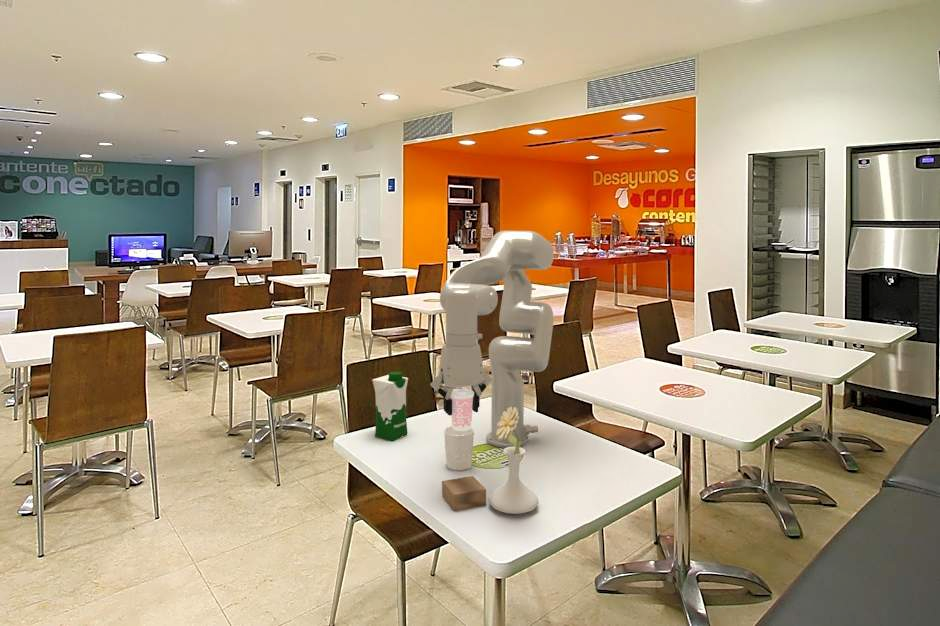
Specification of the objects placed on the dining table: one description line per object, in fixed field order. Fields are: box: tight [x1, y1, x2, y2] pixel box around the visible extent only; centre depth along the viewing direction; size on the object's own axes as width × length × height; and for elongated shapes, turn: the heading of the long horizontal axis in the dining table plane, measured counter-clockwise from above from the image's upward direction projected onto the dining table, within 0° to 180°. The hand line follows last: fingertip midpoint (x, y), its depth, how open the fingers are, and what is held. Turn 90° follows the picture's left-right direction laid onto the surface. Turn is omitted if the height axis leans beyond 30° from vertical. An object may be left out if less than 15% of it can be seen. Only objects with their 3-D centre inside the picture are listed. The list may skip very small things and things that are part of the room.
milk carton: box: [372, 370, 409, 442], centre depth 192 cm, size 9×9×20 cm
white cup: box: [443, 425, 475, 471], centre depth 170 cm, size 8×8×10 cm
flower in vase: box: [488, 407, 539, 515], centre depth 144 cm, size 13×11×25 cm
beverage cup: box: [450, 387, 474, 431], centre depth 154 cm, size 6×6×14 cm
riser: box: [441, 475, 487, 512], centre depth 150 cm, size 8×8×4 cm
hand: (461, 411), depth 154 cm, fingers closed on beverage cup, 6 cm apart
